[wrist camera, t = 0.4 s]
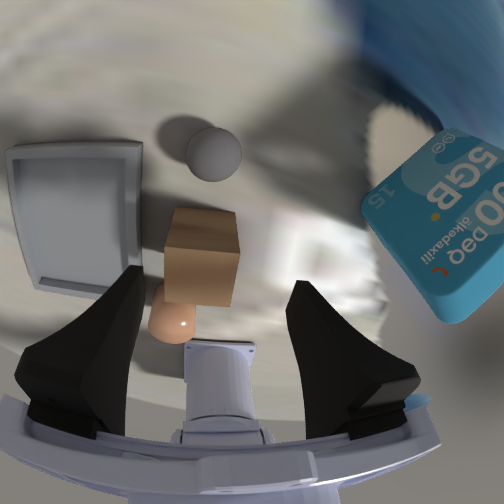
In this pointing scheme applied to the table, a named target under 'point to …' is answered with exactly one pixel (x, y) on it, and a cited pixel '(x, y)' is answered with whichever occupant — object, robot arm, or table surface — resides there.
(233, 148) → the rubber ball
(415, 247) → the data package
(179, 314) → the peach rounded tapered piece
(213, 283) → the walnut block
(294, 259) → the table surface
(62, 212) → the tray
